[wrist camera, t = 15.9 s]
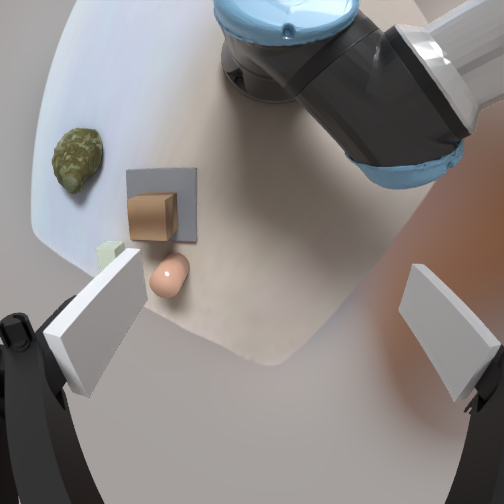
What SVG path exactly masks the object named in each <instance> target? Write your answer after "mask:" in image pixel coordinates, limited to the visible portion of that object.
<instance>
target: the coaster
mask: <svg viewBox="0 0 504 504" xmlns="http://www.w3.org/2000/svg"><path fill="white" fill-rule="evenodd" d="M126 179H127V199H130V198H132V197H134V196H136V195H139V194H141V193H143V192H177V208H178V229H177V230H176V231H175V232H174V234H173V235H172V236H171V237H170V238H169V239H168V240H171V241H192V242H196V241H197V197H196V185H197V168H151V169H129V170H126Z"/></svg>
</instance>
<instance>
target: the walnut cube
mask: <svg viewBox="0 0 504 504" xmlns="http://www.w3.org/2000/svg"><path fill="white" fill-rule="evenodd" d="M127 208H128V220H129V231H130V239H133V240H156V241H167V240H168V239H169V238H170V237H171V236H172V235H173V234H174V232H175V231H176V230H177V229H178V208H177V192H143V193H141V194H139V195H136V196H134V197H132V198H130V199H128V200H127Z"/></svg>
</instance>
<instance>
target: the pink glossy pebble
mask: <svg viewBox="0 0 504 504" xmlns="http://www.w3.org/2000/svg"><path fill="white" fill-rule="evenodd" d="M189 270H190V265H189V262H188V260H187V258H186V257H185V256H183V255H182V254H180V253H175V252H174V253H170V254H168V255H166V257H165V258H164V259H163V260H162V262H161V263H160V264H159V266H158V267H157V268H156V270H155V271H154V272H153V274H152V275H151V277H150V281H149V283H150V287H151V289H152V291H153V292H154V293H155V294H156V295H158V296H159V297H162V298H173V297H175V296H176V295H177V294H178V292H179V290H180V288H181V286H182V284H183V282H184V280H185V278H186V276H187V274H188V272H189Z"/></svg>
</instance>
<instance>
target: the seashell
mask: <svg viewBox="0 0 504 504" xmlns="http://www.w3.org/2000/svg"><path fill="white" fill-rule="evenodd" d="M101 157H102V143H101V139H100V136H99V133H98V132H97V131H96V130H95V129H94V130H92V129H85V128H76V129H72V130H70V132H68V133H66V134H64V136H63V137H62V139H61V140H60V141H59V142H58V144H57V146H56V147H55V149H54V156H53V158H52V165H53V168H54V174H55V176H56V177H57V180H58V182H59V183H60V184H61V185H62V186H63V187H64V188H66V189H67V190H68V191H69V192H70V193H72V194H76V193H77V192H82V190H83V189H82V185H83V183H84V181H85V180H86V179H87V178H88V177H89V176H91V175H92V174H94V173H95V172H96V170H97V168H98V166H99V164H100V162H101Z"/></svg>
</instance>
